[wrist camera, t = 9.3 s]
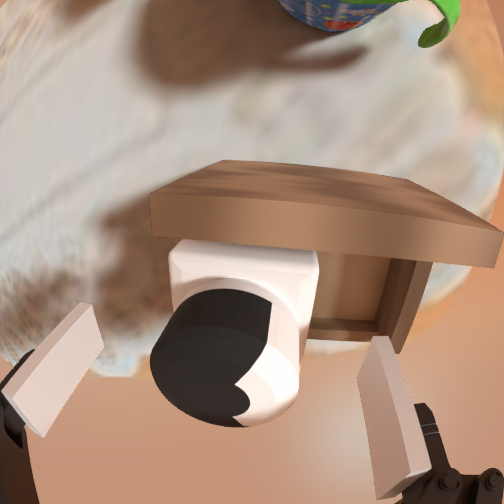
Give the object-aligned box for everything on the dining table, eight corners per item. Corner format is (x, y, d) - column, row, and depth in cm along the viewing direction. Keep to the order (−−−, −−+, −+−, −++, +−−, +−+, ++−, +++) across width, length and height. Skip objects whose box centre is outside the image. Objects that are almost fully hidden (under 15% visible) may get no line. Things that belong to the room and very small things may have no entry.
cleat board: (222, 300, 25) (180, 409, 14) (223, 160, 21) (149, 193, 10) (377, 313, 24) (413, 422, 13) (407, 179, 19) (504, 233, 8)
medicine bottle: (207, 299, 22) (149, 424, 12) (206, 210, 20) (111, 308, 9) (298, 309, 22) (296, 449, 11) (311, 219, 19) (333, 339, 8)
